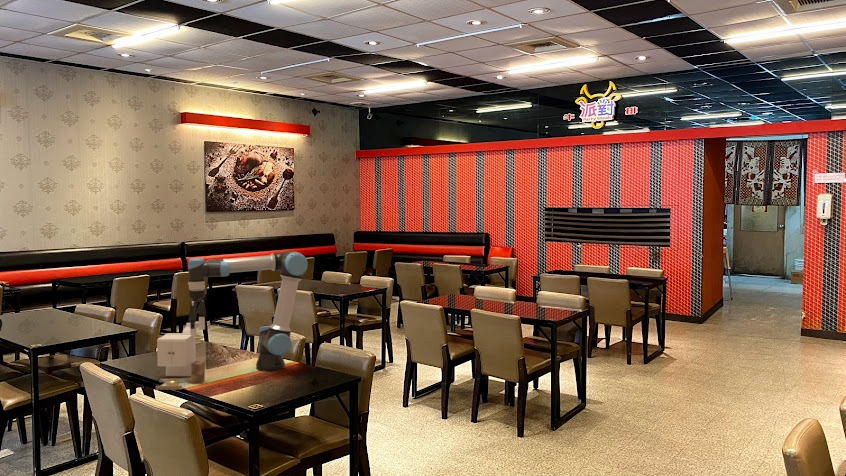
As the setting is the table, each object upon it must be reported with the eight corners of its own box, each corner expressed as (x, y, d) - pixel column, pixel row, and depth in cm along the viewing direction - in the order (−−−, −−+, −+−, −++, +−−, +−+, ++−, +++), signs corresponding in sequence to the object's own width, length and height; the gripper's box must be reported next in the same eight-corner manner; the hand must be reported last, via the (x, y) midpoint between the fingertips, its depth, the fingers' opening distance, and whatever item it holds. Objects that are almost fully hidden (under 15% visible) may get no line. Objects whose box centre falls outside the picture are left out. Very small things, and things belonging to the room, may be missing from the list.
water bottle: (186, 371, 346) (185, 324, 345) (180, 369, 351) (180, 322, 350) (201, 368, 353) (201, 322, 351) (196, 366, 357) (195, 320, 356)
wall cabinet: (194, 375, 338) (193, 333, 337) (185, 382, 324) (184, 338, 323) (166, 375, 338) (166, 333, 336) (156, 382, 324) (156, 338, 323)
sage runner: (194, 378, 332) (194, 375, 332) (181, 389, 312) (181, 386, 312) (170, 378, 332) (170, 375, 332) (155, 389, 312) (155, 386, 312)
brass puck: (180, 383, 321) (180, 378, 321) (176, 387, 315) (176, 382, 315) (167, 383, 321) (167, 378, 320) (164, 387, 315) (164, 382, 315)
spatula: (204, 381, 327) (204, 361, 327) (201, 384, 322) (201, 363, 322) (162, 380, 327) (162, 360, 326) (158, 382, 322) (158, 362, 321)
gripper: (197, 286, 335) (198, 327, 336) (180, 293, 310) (181, 337, 311) (211, 286, 335) (212, 327, 336) (196, 293, 310) (197, 337, 311)
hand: (197, 332), depth 324 cm, fingers open, 13 cm apart
